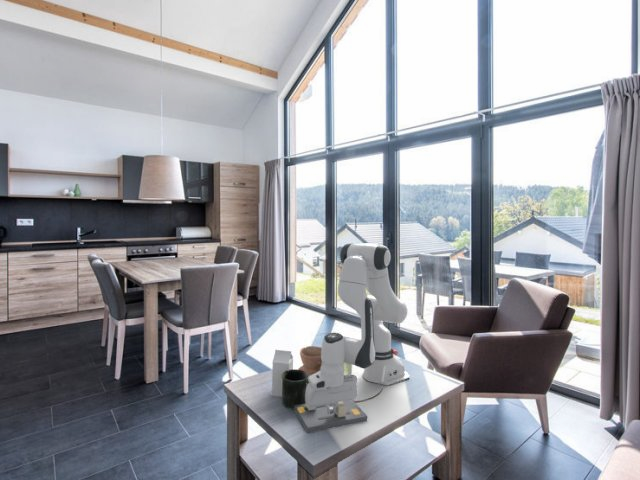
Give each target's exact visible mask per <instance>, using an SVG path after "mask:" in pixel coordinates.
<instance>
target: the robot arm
mask: <svg viewBox="0 0 640 480" xmlns="http://www.w3.org/2000/svg"><path fill="white" fill-rule="evenodd" d="M391 257H392V255H391V250H390V249H389V248H388V247H387V246H386V245H383V244H374V243H369V242H368V243H352V242H351V243H347V244H344V245H343V246H342V248H341V249H340V253H339V261H340V262H341V265H342V267H341V270H340V274H339V279H338V284H337V285H338V286H337V294H338V297H339V299H340V301H341V302H342V303H343V304H345V305H347V306H348V307H349V308H351V309H352V310H353V311H355V312H356V313H357V315H359V317H360V329H361V330H360V332H361V335H360V336H361V339H357V338H354V337H353V338H352V337H348V336H345V335H342V334H341V333H340V332H339V333H338V332H330V333H327V334H325V335H324V337H323V339H322V344H321V348H322V350H321V360H322V366H321V370H320V371H319V372H317V373H315V374H313V375H311V376H309V377H308V381H309V384H307V387H306V393H305V402H306V404H307V405H308V406H309V407H312V406H318V405H324V404H325V406H326V408H327V413H328V414H331V413H335V412H336V408H337V406H338V404H339V402H340V401H346V400H355V399H357V397H358V386H357V383H358V378H357V375H355V374H354V373H353V374H352V373H351V374H345V367H344V364H349V365H353V366H356V367H358V368H360V369H363V373H362V377H363V379H364V380H366V381H368V382H370V383H375V384H380V383H381V385H383V386H390V384H391V385H394V384H396V383H395V382H397V383H399V382H398V381H400V382H402V381H401V380H404V379H407V378H409V379H410V374H409V373H408V372H407V370H405V365H404V363H402V361H401V359H399V358H397V357H396V356H398V352H399V351H398V350H396V349H393V348H392V347H391V345H392V334H391V331H390V330H389V329H388V327H386V326H385V324H383V322H386V323H390V324H402V323H403V322H404V321H405V320H406V319H407V316H408V308H407V305H406V303H405V302H404V301H402V300H401V299H400V298H399V297H398V296H397V295H396V293H395V292H394V290H393V289H392V286H391V282H390V277H389V269H388V267H389V266H390V263H391V259H392V258H391ZM367 293H369V294H367ZM407 380H408V379H407ZM404 381H405V380H404ZM393 383H394V384H393ZM330 403H334V404H333V406H332V407H328V406H330Z"/></svg>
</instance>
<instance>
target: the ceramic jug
mask: <svg viewBox="0 0 640 480" xmlns="http://www.w3.org/2000/svg"><path fill="white" fill-rule="evenodd" d="M321 350H322V346H321V347H320V346H314V345H309V346H305V347H302V348H300V349H299V355H300V360H301V363H302V365H301V366H299V367H298V369H297V370H302V371H304V372H306V373H307V374H308V377H309V376H311V375H313V374H315V373H317V372H319V371H320V370H321V366H322V360H321ZM308 384H309V381H308V378H307V385H308Z"/></svg>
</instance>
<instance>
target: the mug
mask: <svg viewBox="0 0 640 480" xmlns="http://www.w3.org/2000/svg"><path fill="white" fill-rule="evenodd" d="M281 376H282V397H281V404H282V405H283V406H284V407H285V408H287V409H291V410H294V406H295V405H300V404H306V402H305V393H306V387H307V385H308V384H307V378H308V374H307V373H306V372H304V371H302V370H298V369H295V368H293V369H292V370H289V371H285V372H283V373H282V375H281Z"/></svg>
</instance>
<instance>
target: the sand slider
mask: <svg viewBox="0 0 640 480" xmlns="http://www.w3.org/2000/svg"><path fill="white" fill-rule="evenodd" d="M335 413H336V415H337V416H338V417H343V416H346V405H345V404H344V403H343V402H342V401H340V402H339V404H338V406H337V408H336V412H335Z"/></svg>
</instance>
